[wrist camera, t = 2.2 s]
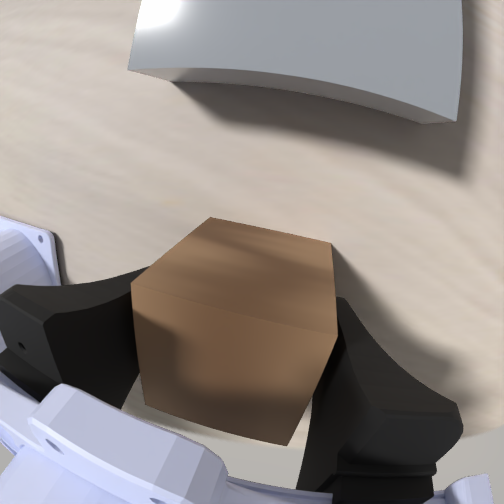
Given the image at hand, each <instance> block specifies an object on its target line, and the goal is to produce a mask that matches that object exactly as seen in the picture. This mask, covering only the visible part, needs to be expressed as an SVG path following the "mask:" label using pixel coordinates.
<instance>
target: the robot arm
mask: <svg viewBox="0 0 504 504" xmlns="http://www.w3.org/2000/svg"><path fill="white" fill-rule="evenodd" d="M149 267H150V266H148V267H145V268H142V269H140V270H137V271H133V272H130V273H127V274H124V275H120V276H117V277H113V278H109V279H105V280H100V281H95V282H90V283H82V284H74V285H63V286H61V281H60V275H59V269H58V263H57V256H56V248H55V240H54V236H53V234H52V233H51V232H50V231H47V230H44V229H41V228H38V227H34V226H31V225H28V224H25V223H22V222H18V221H15V220H12V219H9V218H6V217H3V216H0V442H1V443H2V444H3V445H4V446H5V447H6V448H7V449H8V450H9V451H10V452H11V453H12V454H13V455H14V456H15V457H14V458H13V460H12V461H11V462H10V463H9V465H8V466H7V467H6V469H5V470H4V471H3V473H2V474H1V475H0V504H494V502H493V497H492V491H491V486H490V482H489V477H488V474H487V473H484V474H479V475H474V476H468V477H464V478H461V479H459V480H457V481H455V482H453V483H452V484H451V485H449V486H448V487H447V488H446V489H445V490H440V491H434V490H433V482H432V476H434V475H435V474H436V472H437V468H436V462H437V461H438V460H439V459H440V458H441V457H443V456H444V455H445V454H446V453H447V452H448V451H449V450H450V449H451V448H452V447H453V446H454V445H455V444H456V443H457V441H458V440H459V439H460V437H461V435H462V433H463V423H462V420H461V417H460V413H459V410H458V407H457V404H456V403H455V402H453V401H451V400H449V399H447V398H445V397H444V396H442V395H440V394H438V393H436V392H434V391H433V390H431V389H430V388H428V387H427V386H425V385H424V384H422V383H421V382H419V381H418V380H416V379H415V378H414V377H412V376H411V375H410V374H409V373H407V372H406V371H405V370H404V369H403V368H401V367H400V366H399V365H398V364H397V363H396V362H395V361H394V360H393V359H392V358H391V357H390V356H389V355H388V354H387V353H386V352H385V351H384V350H383V349H382V348H381V347H380V346H379V345H378V344H377V342H376V341H375V340H374V339H373V337H372V336H371V335H370V334H369V332H368V331H367V330H366V328H365V327H364V326H363V324H362V323H361V322H360V320H359V319H358V317H357V316H356V314H355V313H354V311H353V310H352V308H351V307H350V305H349V304H348V302H347V301H346V300H345V299H344V298H340V297H336V311H337V330H338V337H337V339H336V342H335V344H334V347H333V349H332V351H331V354H330V356H329V359H328V361H327V363H326V366H325V368H324V370H323V373H322V375H321V377H320V380H319V382H318V384H317V386H316V388H315V391H314V393H313V399H312V413H311V419H310V425H309V431H308V437H307V442H306V447H305V452H304V457H303V461H302V466H301V470H300V474H299V478H298V482H297V486H296V489H288V488H282V487H276V486H270V485H265V484H260V483H255V482H251V481H246V480H242V479H238V478H234V477H230V476H228V471H227V469H226V467H225V464H224V462H223V461H222V459H221V458H220V457H219V456H217V455H216V454H215V453H213V452H212V451H211V450H209V449H208V448H207V447H205V446H204V445H202V444H200V443H198V442H196V441H193V440H191V439H189V438H187V437H185V436H183V435H181V434H178V433H175V432H172V431H170V430H167V429H164V428H162V427H159V426H157V425H154V424H152V423H149V422H147V421H145V420H142V419H140V418H137V417H135V416H133V415H131V414H128V413H126V412H124V411H122V410H121V408H122V406H123V404H124V402H125V399H126V397H127V395H128V393H129V391H130V390H131V388H132V386H133V384H134V382H135V380H136V378H137V376H138V375H139V373H140V370H139V362H138V355H137V347H136V339H135V330H134V319H133V308H132V295H131V282H132V281H134V280H135V279H136V278H137V277H138V276H139V275H141V274H142V273H143V272H144V271H145V270H146V269H148V268H149Z"/></svg>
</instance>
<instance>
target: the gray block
mask: <svg viewBox="0 0 504 504" xmlns="http://www.w3.org/2000/svg"><path fill="white" fill-rule="evenodd" d="M462 52H463V21H462V1H461V0H143V1H142V5H141V9H140V12H139V16H138V21H137V25H136V29H135V34H134V38H133V43H132V48H131V53H130V59H129V64H128V70H129V71H133V72H137V73H141V74H145V75H149V76H152V77H156V78H160V79H163V80H167V81H170V82H208V83H225V84H237V85H248V86H257V87H266V88H273V89H281V90H287V91H294V92H300V93H305V94H311V95H316V96H321V97H326V98H331V99H336V100H340V101H344V102H349V103H353V104H357V105H361V106H365V107H368V108H372V109H376V110H379V111H383V112H386V113H390V114H393V115H396V116H399V117H403V118H406V119H409V120H412V121H415V122H418V123H420V124H428V123H442V122H456V120H457V113H458V105H459V96H460V86H461V73H462Z"/></svg>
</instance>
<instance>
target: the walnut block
mask: <svg viewBox="0 0 504 504" xmlns="http://www.w3.org/2000/svg"><path fill="white" fill-rule="evenodd" d="M131 295H132V308H133V319H134V330H135V339H136V347H137V355H138V362H139V370H140V376H141V383H142V389H143V394H144V400H145V405H148V406H150V407H153V408H155V409H158V410H160V411H163V412H166V413H168V414H171V415H174V416H177V417H179V418H182V419H185V420H188V421H191V422H194V423H197V424H200V425H203V426H207V427H210V428H213V429H217V430H220V431H224V432H227V433H231V434H235V435H238V436H242V437H246V438H250V439H255V440H259V441H263V442H268V443H273V444H278V445H283V446H287V445H288V443H289V441H290V440H291V438H292V436H293V434H294V432H295V430H296V428H297V426H298V424H299V422H300V420H301V418H302V416H303V414H304V412H305V410H306V408H307V406H308V403H309V401H310V399H311V397H312V395H313V393H314V391H315V388H316V386H317V384H318V382H319V380H320V377H321V375H322V373H323V370H324V368H325V366H326V363H327V361H328V359H329V356H330V354H331V351H332V349H333V347H334V344H335V342H336V339H337V337H338V330H337V311H336V296H335V283H334V271H333V260H332V249H331V243H328V242H324V241H320V240H315V239H311V238H306V237H302V236H297V235H293V234H288V233H284V232H279V231H274V230H270V229H265V228H260V227H256V226H251V225H246V224H241V223H236V222H232V221H227V220H222V219H217V218H212V217H210V218H209V219H207V220H206V221H205V222H204V223H202V224H201V225H200V226H199V227H197V228H196V229H195V230H194V231H192V232H191V233H190V234H189V235H187V236H186V237H185V238H184V239H182V240H181V241H180V242H179V243H178V244H176V245H175V246H174V247H173V248H171V249H170V250H169V251H168V252H167V253H165V254H164V255H163V256H162V257H161V258H159V259H158V260H157V261H156V262H155V263H153V264H152V265H151V266H150V267H149V268H148V269H146V270H145V271H144V272H143V273H142V274H141V275H139V276H138V277H137V278H136V279H135V280H134V281H132V282H131Z"/></svg>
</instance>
